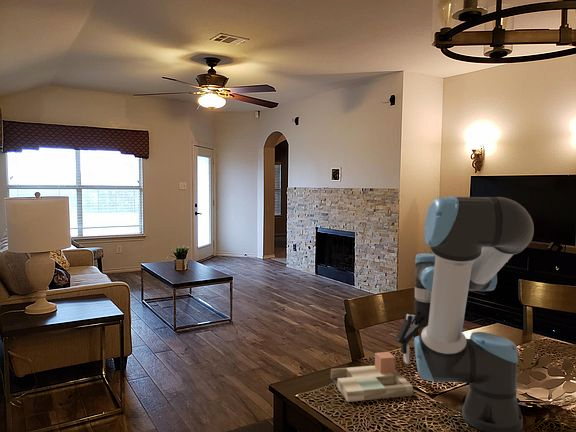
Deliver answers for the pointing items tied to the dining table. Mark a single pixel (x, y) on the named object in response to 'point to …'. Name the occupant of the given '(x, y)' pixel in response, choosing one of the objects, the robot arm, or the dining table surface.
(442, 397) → the dining table surface
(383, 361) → the block
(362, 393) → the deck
